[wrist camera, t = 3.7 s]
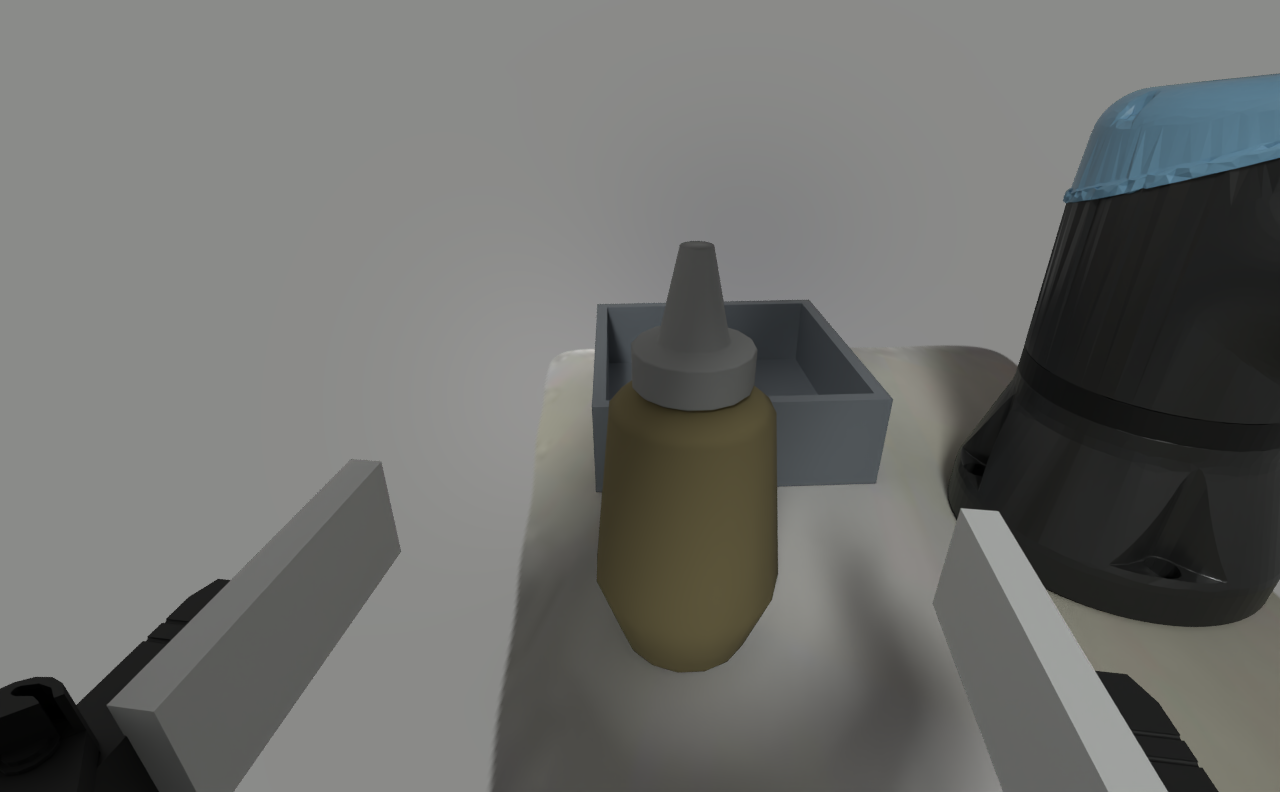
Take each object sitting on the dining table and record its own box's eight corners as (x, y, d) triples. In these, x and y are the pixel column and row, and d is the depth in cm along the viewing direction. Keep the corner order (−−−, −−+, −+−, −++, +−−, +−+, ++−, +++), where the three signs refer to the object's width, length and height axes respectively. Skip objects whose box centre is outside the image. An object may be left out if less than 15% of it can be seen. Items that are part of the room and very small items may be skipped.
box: (600, 370, 54) (597, 304, 52) (800, 365, 55) (808, 299, 52) (596, 491, 39) (592, 407, 36) (875, 483, 40) (893, 399, 37)
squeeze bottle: (773, 710, 26) (833, 286, 17) (581, 686, 27) (549, 275, 18) (767, 571, 33) (808, 222, 24) (615, 556, 34) (604, 217, 25)
